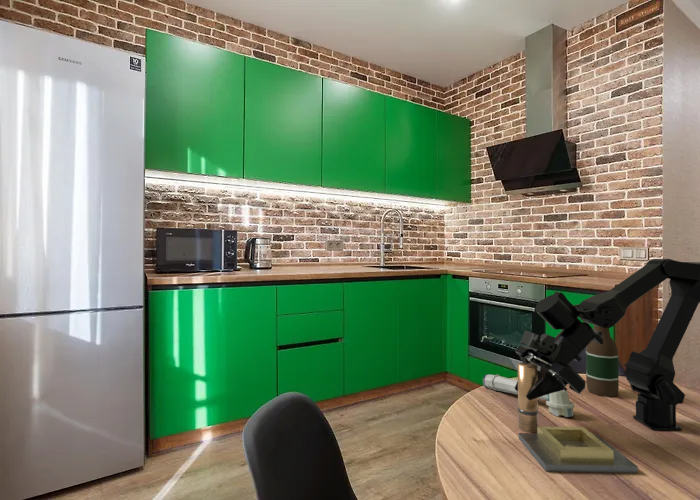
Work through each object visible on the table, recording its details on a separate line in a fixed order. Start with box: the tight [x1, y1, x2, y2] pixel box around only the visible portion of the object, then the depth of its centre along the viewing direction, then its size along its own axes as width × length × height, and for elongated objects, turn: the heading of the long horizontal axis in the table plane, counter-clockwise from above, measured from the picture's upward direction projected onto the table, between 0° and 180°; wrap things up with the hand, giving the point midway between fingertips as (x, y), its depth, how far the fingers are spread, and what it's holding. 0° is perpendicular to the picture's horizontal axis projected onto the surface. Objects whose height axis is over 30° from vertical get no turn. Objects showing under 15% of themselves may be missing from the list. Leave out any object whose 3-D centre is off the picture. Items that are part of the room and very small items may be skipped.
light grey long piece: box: [482, 373, 575, 418], centre depth 101 cm, size 5×7×25 cm
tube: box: [517, 362, 539, 433], centre depth 85 cm, size 4×4×14 cm
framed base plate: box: [518, 426, 639, 474], centre depth 74 cm, size 16×12×3 cm
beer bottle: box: [585, 325, 620, 398], centre depth 107 cm, size 8×8×24 cm
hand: (521, 394), depth 85 cm, fingers open, 5 cm apart
